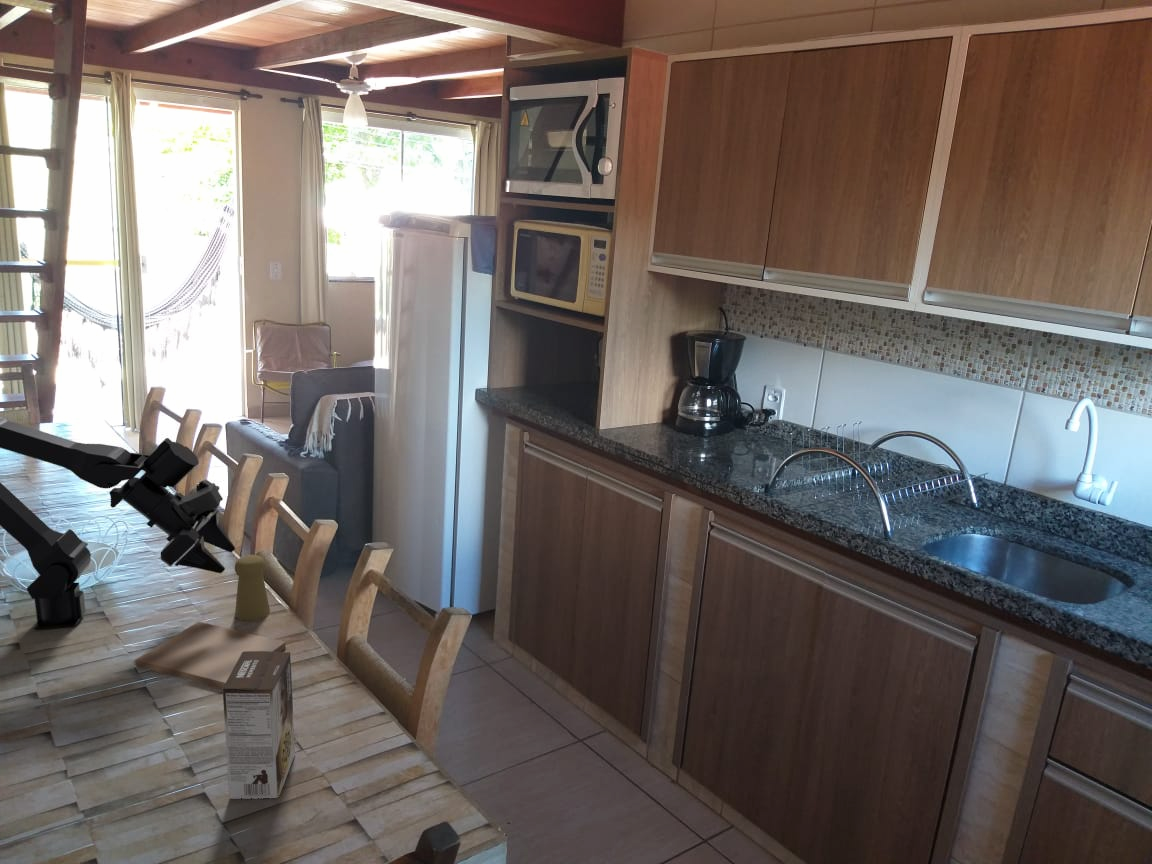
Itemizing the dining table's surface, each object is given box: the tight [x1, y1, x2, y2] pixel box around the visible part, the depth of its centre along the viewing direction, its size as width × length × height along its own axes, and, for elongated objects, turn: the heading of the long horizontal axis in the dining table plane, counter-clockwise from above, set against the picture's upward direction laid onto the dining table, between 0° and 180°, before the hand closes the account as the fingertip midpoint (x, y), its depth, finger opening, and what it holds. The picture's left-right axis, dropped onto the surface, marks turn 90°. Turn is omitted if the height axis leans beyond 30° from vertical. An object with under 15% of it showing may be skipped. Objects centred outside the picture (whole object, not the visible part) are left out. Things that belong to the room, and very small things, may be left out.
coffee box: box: [221, 651, 296, 800], centre depth 109 cm, size 9×6×16 cm
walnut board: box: [135, 621, 287, 690], centre depth 138 cm, size 18×14×1 cm
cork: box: [234, 554, 271, 622], centre depth 152 cm, size 6×6×11 cm
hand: (228, 560), depth 150 cm, fingers open, 9 cm apart
